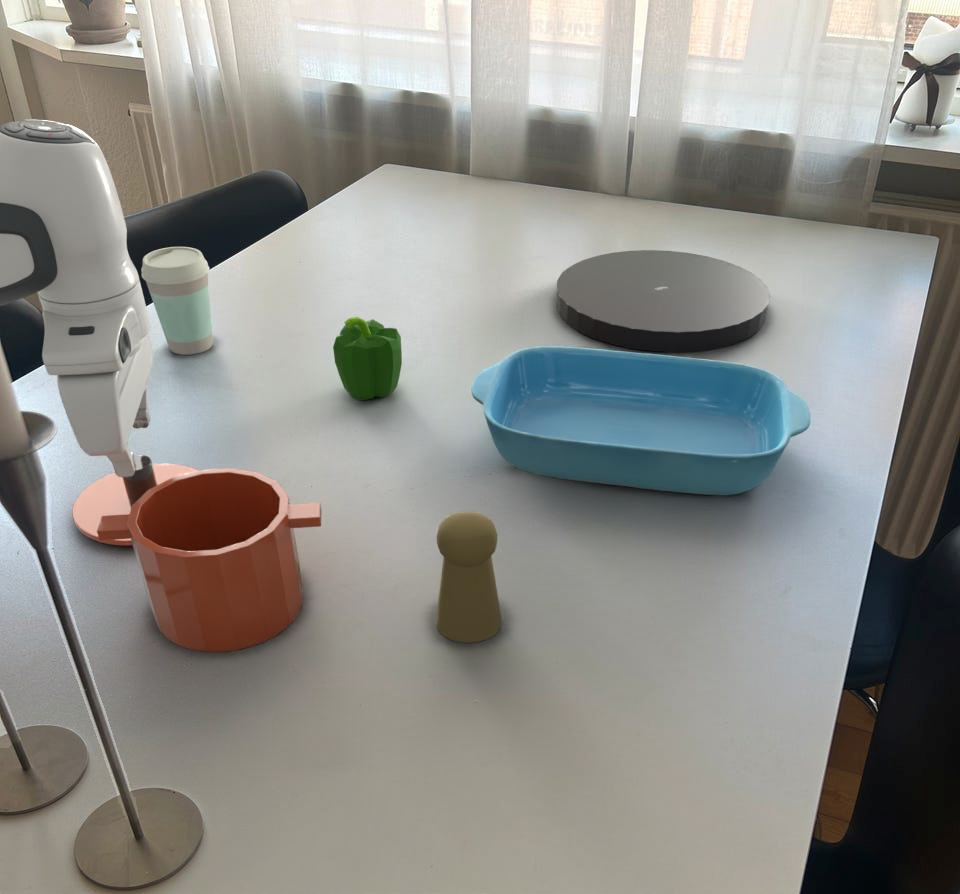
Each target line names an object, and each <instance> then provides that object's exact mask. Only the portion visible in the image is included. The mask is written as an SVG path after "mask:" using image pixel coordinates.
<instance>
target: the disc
mask: <svg viewBox="0 0 960 894" xmlns="http://www.w3.org/2000/svg"><path fill="white" fill-rule="evenodd" d="M555 288H556V309H557V312H558V314H559V316H560V318H562V319H563V320H564V322H565V323H566V324H567V325H569V326H570V327H572V328H573V329H574V330H576V331H577V332H580V333H582V334H584V335H586V336H588V337H590V338H593V339H595V340H599V341H602V342H605V343H608V344H610V345H615V346H620V347H624V348H628V349H635V350H642V351H643V350H644V351H649V352H650V351H651V352H667V353H668V352H669V353H680V352H681V353H682V352H698V351H699V352H700V351H707V350H714V349H719V348H722V347H726V346H730V345H734V344H737V343H739V342H742V341H744V340H747V339H748V338H750V337H752V336H754V335H755V334H756V333H757V332H759V331H760V330H761V328H762V327H763V325H764V324H765V323H766V317H767V312H768V307H769V303H770V298H771V294H770V290H769V288H768V286H767V285H766V284H765V283H764V281H762V279H761V278H759V277H758V276H757V275H755V274H753V273H752V272H751V271H749V270H747V269H745V268H743V267H741V266H739V265H736V264H733V263H732V262H728V261H725V260H724V259H723V260H722V259H719V258H714V257H711V256H707V255H702V254H697V253H690V252H685V251H674V250H656V249H655V250H654V249H642V250H641V249H640V250H625V251H624V250H623V251H615V252H609V253H605V254H600V255H599V254H598V255H595V256H592V257H589V258H585V259H582V260H579V261H578V262H576V263H573V264H572V265H570V266H568V267H567V268H566V269H565V270H563V271H562V272H561V273H560V275H559V277H558V278H557V280H556V287H555Z"/></svg>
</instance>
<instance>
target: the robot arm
mask: <svg viewBox="0 0 960 894" xmlns="http://www.w3.org/2000/svg"><path fill="white" fill-rule="evenodd" d="M120 200H121V199H120V197H119V194H118V190H117V187H116V184H115V181H114V178H113V174H112V172H111V169H110V166H109V165H108V161H107V160H106V157H105V155H104V154H103V151H102V149H101V148H100V146H99V145H98V143H97V142H96V141H95V140H94V139H93V138H92V137H90V136H89V135H88V134H87V133H86V132H84V131H83V130H81V129H79V128H77V127H75V126H73V125H70V124H65V123H62V122H59V121H53V120H44V119H21V120H18V121H9V122H7V123H4V124H2V125H0V307H2V306H5V305H8V304H10V303H13V302H16V301H19V300H22V299H24V298H26V297H29V296H32V295H34V294H36V293H37V296H38V299H39V302H40V306H41V308H42V320H43V324H44V334H43V345H42V350H41V351H42V352H41V358H42V362H43V365H44V369H45V370H46V373H47V374H48V375H49V376H57V378H56V379H57V388H58V393H59V396H60V400H61V403H62V405H63V409H64V411H65V415H66V417H67V419H68V423H69V425H70V428H71V430H72V432H73V435H74V437H75V440H76V442H77V444H78V446H79V447H80V449H81V451H83V452H84V453H85V455H87V456H90V457H105V456H106V457H107V459H108V460H109V461H110V462H111V464H112V467H113V471H114V472H115V474H116V475H117V476H119V477H129V476H133V475H134V472H135V469H136V462H135V458H134V455H135V454H134V452H130V449H129V447H128V444H129V439H130V436H131V433H132V430H133V429H147V428H148V427H149V425H150V422H151V419H152V418H151V413H150V409H149V403H148V386H147V385H148V384H147V383H148V381H149V377H150V375H151V371H152V368H153V366H154V360H155V359H154V349H153V345H152V342H151V337H150V335H149V332H150V330H151V322H150V317H149V313H148V309H147V304H146V301H145V296H144V293H143V292H144V291H143V288H142V285H141V280H140V276H139V273H138V270H137V268H136V266H135V264H134V263H133V261H132V259H131V257H130V254H129V251H128V244H127V241H128V240H127V239H128V228H127V223H126V220H125V216H124V211H123V208H122V204H121V201H120Z"/></svg>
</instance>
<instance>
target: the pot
mask: <svg viewBox="0 0 960 894" xmlns="http://www.w3.org/2000/svg"><path fill="white" fill-rule="evenodd" d="M198 470H199V471H195V472H191V473H188V474H184V475H180V476H176V477H173V478H171V479H169V480H167V481H165V482H163V483H161V484H159V485H157V486H155V487H153V488H151V489H149V490H148V491H147V492H146V493H145V494H144V495H143V496H142V497H141V498H140V499H139V500H138V501H137V502H136V503H135V504H134V505H133V506H132V508H131V511H130V514H124V515H108V516H102V517H101V520H100V523H99V526H98V529H97V533H98V537H99V540H100V541H101V540H116V539H131V541H132V544H133V545H132V548H133V550H134V551H133V552H134V554H135V558H136V561H137V565H138V568H139V572H140V575H141V578H142V582H143V585H144V589H145V592H146V596H147V600H148V602H149V607H150V610H151V613H152V615H153V618H154V620H155V622H156V626H157V627H158V630H159V631H160V633H161V634H162V635H163V636H164V637H165V638H167V639H168V640H169V641H171V642H173V643H174V644H176V645H177V646H180V647H183V648H185V649H189V650H193V651H199V652H208V653H209V652H210V653H221V652H223V653H224V652H233V651H238V650H242V649H247V648H251V647H253V646H256V645H259V644H261V643H264V642H267V641H268V640H270V639H272V638H274V637H275V636H277V635H279V634H280V633H282V632H283V631H284V630H285V629H286V628H288V627H289V626H290V625H291V624H292V622H294V620H295V619H296V618H297V616H298V614H299V613H300V611H301V609H302V605H303V601H304V593H303V592H304V591H303V589H304V587H303V586H304V585H303V579H302V572H301V567H300V560H299V559H300V558H299V553H298V547H297V540H296V535H295V534H296V533H295V529H301V528H302V529H303V528H315V527H318V528H319V527H321V526H322V505H321V504H322V503H321V502H306V503H305V502H304V503H290V497H289V495H288V493H287V492H286V491H285V490H284V488H283V487H282V486H281V484H280V483H279V482H278V481H277V480H275V479H273V478H271V477H269V476H267V475H265V474H263V473H262V472H258V471H252V470H245V469H240V468H235V467H232V468H231V467H225V468H210V469H209V468H207V469H198Z"/></svg>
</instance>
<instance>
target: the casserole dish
mask: <svg viewBox="0 0 960 894" xmlns="http://www.w3.org/2000/svg"><path fill="white" fill-rule="evenodd" d="M470 390H471V396H472V398H473V399H474V400H475V401H476V402H478V403H479V404H480V405H482V409H483V415H484V419H485V422H486V424H487V427H488V430H489V434H490V437H491V439H492V442H493V444H494V446H495V449H496V451H497V452H498V454H499V455H500V456H501V457H502V458H503V459H504V460H505V461H506V462H507V463H508V464H510V465H511V466H513V467H514V468H516V469H518V470H520V471H523V472H526V473H529V474H534V475H539V476H543V477H549V478H550V477H551V478H556V479H557V478H558V479H563V480H569V481H578V482H584V483H585V482H586V483H593V484H601V485H603V484H604V485H611V486H620V487H622V486H624V487H628V488H638V489H645V490H654V491H661V492H662V491H663V492H671V493H683V494H692V495H693V494H694V495H706V496H734V495H739V494H743V493H745V492H748V491H750V490H753V489H754V488H756V487H758V486H760V484H762V483H763V482H764V481H765V480H766V479H767V477H769V475H770V474H771V472H772V471H773V469H774V468H775V466H776V464H777V462H778V461H779V460H780V458H781V456H782V454H783V453H784V451H785V449H786V448H787V446H788V444H789V442H790V440H791V438H793V437H795V436H798V435H800V434H802V433H804V432H805V431H807V430H808V429H809V427H810V425H811V411H810V407H809V405H808V402H806V400H805V399H804V398H802V397H801V396H800V395H799V394H797V393H795V392H794V391H792V390H790V389H789V387H788V386H787V385H786V383H785V382H784V380H783V379H782V378H781V377H779V376H778V375H776V374H775V373H774V372H771V371H769V370H766V369H763V368H760V367H757V366H753V365H748V364H745V363H737V362H730V361H723V360H714V359H705V358H694V357H686V356H676V355H666V354H665V355H664V354H655V353H642V352H632V351H620V350H612V349H611V350H610V349H601V348H599V349H598V348H587V347H574V346H557V345H556V346H553V345H552V346H550V345H549V346H548V345H547V346H533V347H532V346H531V347H527V348H522V349H520V350H516V351H513V352H512V353H510V354H509V355H507V356H506V357H504V358H503V359H502V360H501V361H499V362H497V363H495V364H493V365H490V366H489V367H487V368H484V369H483V370H481V372H479V373H478V374H477V375H476V376H475V378H474V380H473V382H472V384H471V389H470Z"/></svg>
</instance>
